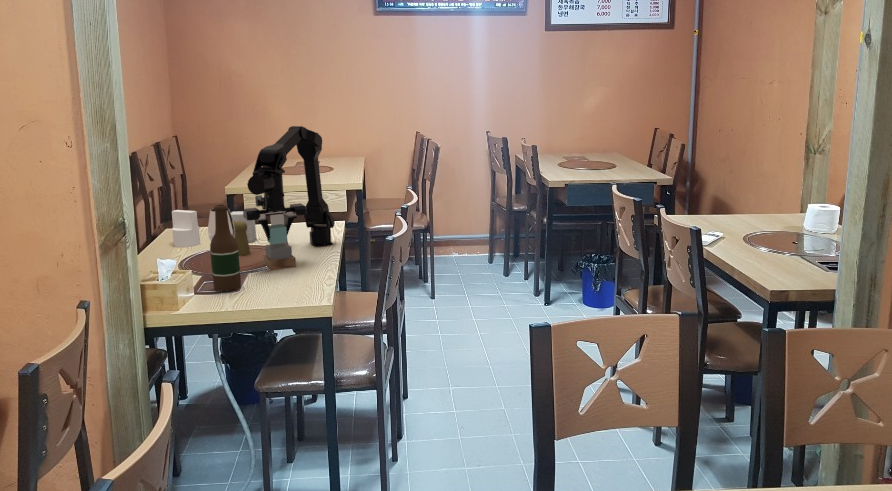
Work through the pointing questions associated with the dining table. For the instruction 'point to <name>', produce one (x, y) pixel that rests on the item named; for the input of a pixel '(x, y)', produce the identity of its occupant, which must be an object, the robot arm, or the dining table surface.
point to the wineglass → (212, 224)
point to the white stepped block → (185, 228)
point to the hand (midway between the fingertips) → (277, 238)
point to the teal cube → (277, 234)
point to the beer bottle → (224, 254)
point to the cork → (241, 238)
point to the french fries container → (277, 220)
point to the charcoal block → (278, 251)
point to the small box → (250, 225)
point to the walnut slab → (280, 263)
